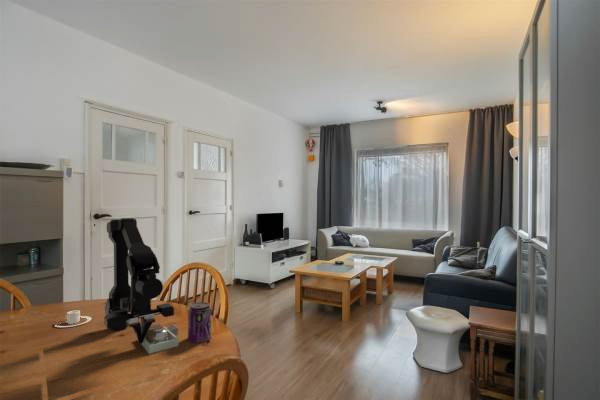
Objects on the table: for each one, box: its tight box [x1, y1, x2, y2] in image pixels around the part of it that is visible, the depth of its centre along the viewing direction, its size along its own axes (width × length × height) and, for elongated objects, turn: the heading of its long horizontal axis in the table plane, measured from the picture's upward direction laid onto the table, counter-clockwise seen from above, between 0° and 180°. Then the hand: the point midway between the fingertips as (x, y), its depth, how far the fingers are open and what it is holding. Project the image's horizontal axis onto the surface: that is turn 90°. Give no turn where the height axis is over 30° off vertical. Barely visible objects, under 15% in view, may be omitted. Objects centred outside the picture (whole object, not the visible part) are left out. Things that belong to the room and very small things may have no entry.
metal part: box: [153, 328, 168, 344], centre depth 100 cm, size 4×4×4 cm
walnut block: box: [146, 323, 164, 343], centre depth 105 cm, size 4×4×4 cm
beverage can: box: [187, 301, 212, 344], centre depth 106 cm, size 7×7×12 cm
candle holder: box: [54, 309, 92, 328], centre depth 123 cm, size 12×12×4 cm
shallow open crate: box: [140, 326, 179, 355], centre depth 102 cm, size 14×8×3 cm, turn 40°
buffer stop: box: [167, 324, 179, 336], centre depth 110 cm, size 5×2×3 cm, turn 40°
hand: (140, 343), depth 99 cm, fingers closed
